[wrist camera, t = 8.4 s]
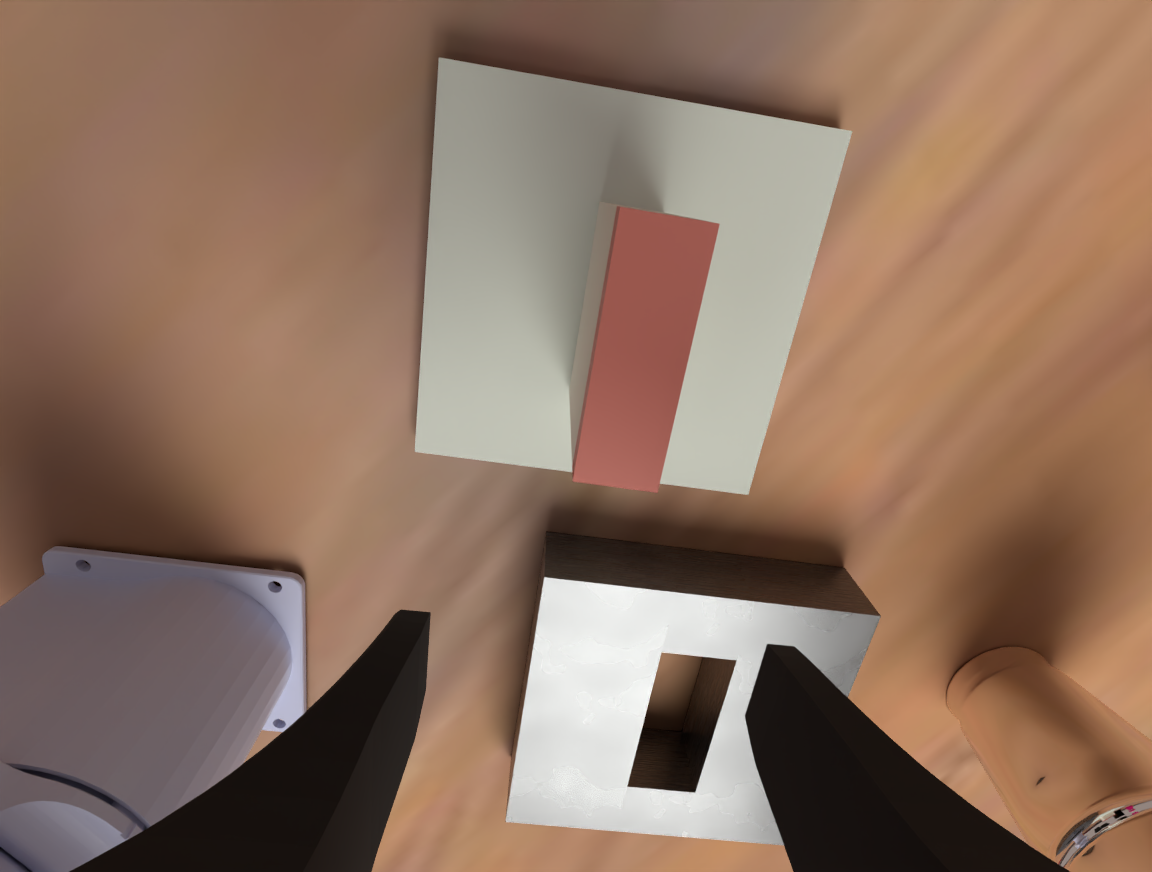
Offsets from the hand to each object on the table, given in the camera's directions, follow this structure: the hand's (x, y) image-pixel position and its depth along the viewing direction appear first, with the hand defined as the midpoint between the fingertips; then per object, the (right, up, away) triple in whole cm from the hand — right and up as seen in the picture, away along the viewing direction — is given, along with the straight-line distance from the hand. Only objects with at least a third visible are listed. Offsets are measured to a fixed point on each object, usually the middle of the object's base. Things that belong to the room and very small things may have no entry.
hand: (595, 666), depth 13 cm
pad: (+1, +9, +7) cm, 12 cm away
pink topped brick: (+1, +9, +7) cm, 11 cm away
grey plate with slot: (+3, -5, +13) cm, 15 cm away
